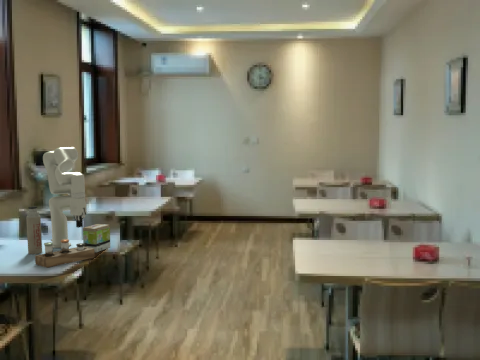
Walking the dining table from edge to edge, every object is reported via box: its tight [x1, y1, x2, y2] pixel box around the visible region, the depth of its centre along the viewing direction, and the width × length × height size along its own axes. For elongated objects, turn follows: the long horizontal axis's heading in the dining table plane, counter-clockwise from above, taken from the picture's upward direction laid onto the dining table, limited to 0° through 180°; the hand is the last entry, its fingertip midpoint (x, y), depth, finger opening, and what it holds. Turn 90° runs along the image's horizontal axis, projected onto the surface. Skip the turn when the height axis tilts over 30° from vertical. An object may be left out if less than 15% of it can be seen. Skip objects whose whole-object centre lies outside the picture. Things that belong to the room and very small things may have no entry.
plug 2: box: [76, 242, 85, 250], centre depth 324 cm, size 5×5×7 cm
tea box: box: [82, 223, 111, 253], centre depth 344 cm, size 15×10×15 cm
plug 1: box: [43, 241, 54, 257], centre depth 309 cm, size 5×5×7 cm
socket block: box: [34, 246, 96, 268], centre depth 317 cm, size 12×30×5 cm, turn 139°
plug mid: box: [60, 238, 70, 254], centre depth 317 cm, size 5×5×7 cm
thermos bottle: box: [25, 205, 43, 255], centre depth 338 cm, size 8×8×28 cm
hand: (79, 227), depth 324 cm, fingers closed
